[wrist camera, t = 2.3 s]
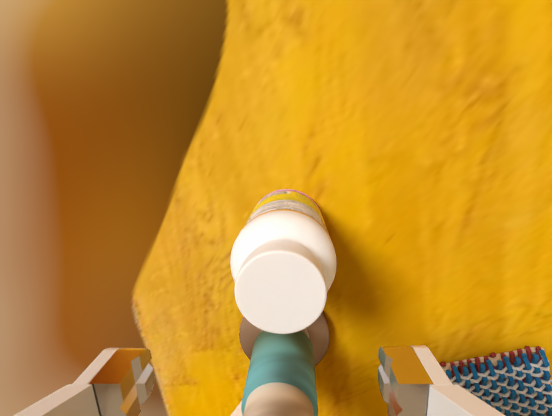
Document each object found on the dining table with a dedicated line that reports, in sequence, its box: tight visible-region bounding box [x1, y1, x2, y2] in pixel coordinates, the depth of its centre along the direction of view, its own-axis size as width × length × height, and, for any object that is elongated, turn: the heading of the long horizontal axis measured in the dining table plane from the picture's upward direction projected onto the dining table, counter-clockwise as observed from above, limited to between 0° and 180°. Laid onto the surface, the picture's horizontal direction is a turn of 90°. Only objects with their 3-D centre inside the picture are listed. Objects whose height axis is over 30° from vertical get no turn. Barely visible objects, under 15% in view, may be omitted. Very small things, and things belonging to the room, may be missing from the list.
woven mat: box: [440, 346, 552, 416], centre depth 29 cm, size 10×11×2 cm
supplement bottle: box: [230, 189, 337, 334], centre depth 20 cm, size 7×7×13 cm
